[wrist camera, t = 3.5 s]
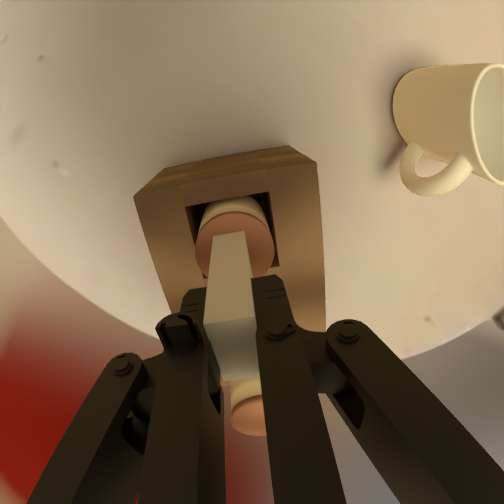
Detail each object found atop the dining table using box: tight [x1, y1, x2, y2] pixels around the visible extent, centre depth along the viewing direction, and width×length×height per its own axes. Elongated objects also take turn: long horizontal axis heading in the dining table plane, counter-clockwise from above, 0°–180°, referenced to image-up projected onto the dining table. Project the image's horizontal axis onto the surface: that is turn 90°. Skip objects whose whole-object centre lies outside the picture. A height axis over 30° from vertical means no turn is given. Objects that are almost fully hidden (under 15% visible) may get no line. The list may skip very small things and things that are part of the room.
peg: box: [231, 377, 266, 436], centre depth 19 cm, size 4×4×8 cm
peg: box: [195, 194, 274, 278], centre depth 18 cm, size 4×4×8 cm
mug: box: [393, 63, 504, 197], centre depth 17 cm, size 12×8×10 cm
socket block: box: [133, 146, 326, 386], centre depth 22 cm, size 16×10×8 cm, turn 9°
